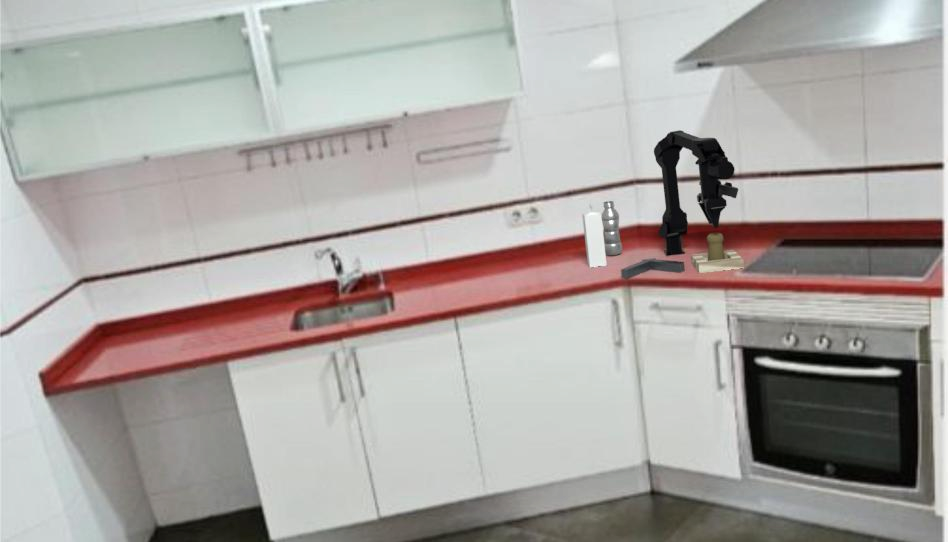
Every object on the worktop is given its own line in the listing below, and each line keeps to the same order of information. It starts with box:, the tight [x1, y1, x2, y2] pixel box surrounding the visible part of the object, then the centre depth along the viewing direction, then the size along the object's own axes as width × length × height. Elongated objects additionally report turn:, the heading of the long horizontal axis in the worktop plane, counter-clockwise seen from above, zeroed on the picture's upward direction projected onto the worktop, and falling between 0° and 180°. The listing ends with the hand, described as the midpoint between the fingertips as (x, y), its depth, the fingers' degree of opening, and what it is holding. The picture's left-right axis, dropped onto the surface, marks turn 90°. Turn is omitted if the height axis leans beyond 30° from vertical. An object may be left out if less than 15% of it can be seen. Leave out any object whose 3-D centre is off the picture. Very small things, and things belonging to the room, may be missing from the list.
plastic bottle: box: [601, 200, 623, 256], centre depth 300 cm, size 6×7×20 cm
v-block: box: [620, 258, 686, 280], centre depth 271 cm, size 12×20×3 cm, turn 85°
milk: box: [581, 203, 608, 269], centre depth 288 cm, size 6×6×22 cm
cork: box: [706, 232, 725, 261], centre depth 265 cm, size 6×6×11 cm
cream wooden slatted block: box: [690, 249, 745, 274], centre depth 266 cm, size 14×14×3 cm
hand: (713, 225), depth 263 cm, fingers open, 9 cm apart
